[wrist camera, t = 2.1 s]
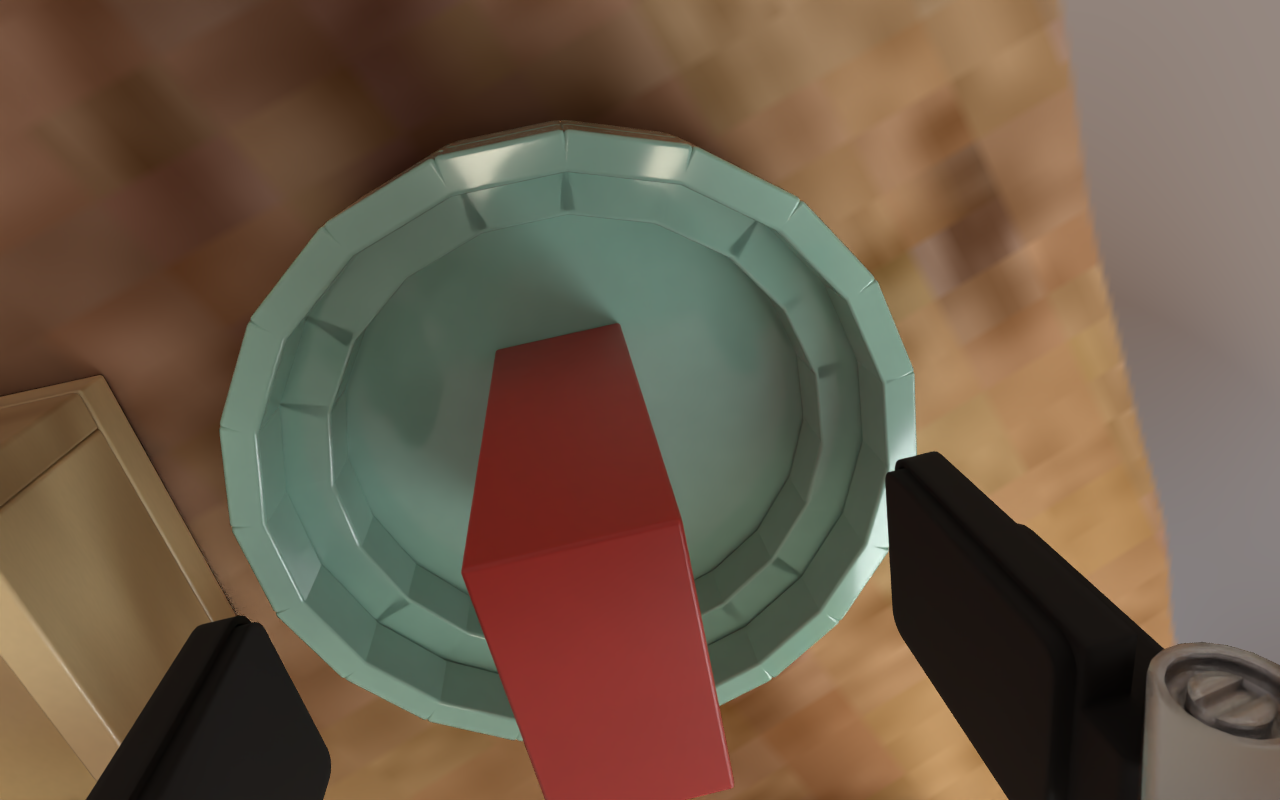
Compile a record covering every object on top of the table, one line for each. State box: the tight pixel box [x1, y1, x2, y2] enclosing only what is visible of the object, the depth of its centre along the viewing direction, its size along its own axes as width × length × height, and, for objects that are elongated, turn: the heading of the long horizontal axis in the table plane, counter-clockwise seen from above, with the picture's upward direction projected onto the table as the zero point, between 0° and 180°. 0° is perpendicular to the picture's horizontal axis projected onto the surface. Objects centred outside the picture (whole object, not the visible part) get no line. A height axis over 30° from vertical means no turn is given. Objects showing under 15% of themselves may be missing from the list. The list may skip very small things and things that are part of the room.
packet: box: [461, 323, 734, 800], centre depth 12 cm, size 4×2×7 cm, turn 11°
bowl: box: [219, 120, 917, 741], centre depth 14 cm, size 12×12×3 cm
